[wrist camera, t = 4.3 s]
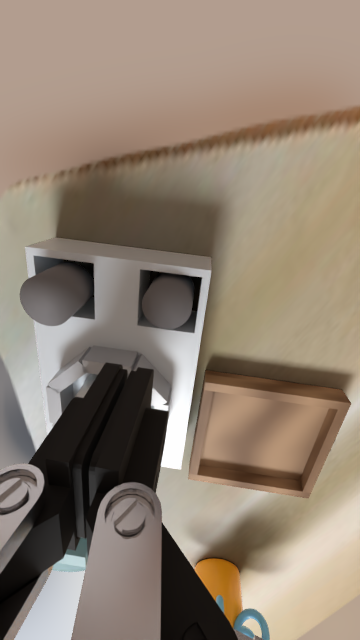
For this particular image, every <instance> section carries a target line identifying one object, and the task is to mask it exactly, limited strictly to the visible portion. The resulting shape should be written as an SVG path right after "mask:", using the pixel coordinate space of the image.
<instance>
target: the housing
mask: <svg viewBox="0 0 360 640" xmlns="http://www.w3.org/2000/svg"><path fill="white" fill-rule="evenodd" d="M25 251H26V260H27V268H28V277H29V278H31V277H33V276H35V275H37V274H39V273H41V272H43V271H45V270H47V269H49V268H51V267H53V266H55V265H57V264H60V263H62V262H63V259H65V260H73V261H80V262H88V263H94V296H95V298H94V297H91V299H90V300H89V301H88V302H87V303H86V304H85V305H84V306H82V307H81V308H80V309H79V310H78V311H77V312H76V313H75V314H74V315H73V316H71V317H70V318H69V319H68V320H67V321H66V322H65V323H63V324H61V325H58V326H46V325H43V324H40V323H38V322H36V321H35V320H34V328H35V336H36V345H37V353H38V362H39V370H40V379H41V387H42V396H43V404H44V413H45V422H46V430H47V435H48V434H49V432H50V431H51V429H52V428H53V426H54V425H55V423H56V422H57V421H58V419H59V418H60V416H61V415H62V413H63V412H64V410H65V409H66V407H67V406H68V404H69V403H70V401H71V400H72V399H73V398H74V397H75V396H76V395H77V393H78V391H79V390H80V388H81V387H82V385H83V384H84V382H85V381H86V379H87V378H88V377H89V376H90V375H91V374H96V375H98V374H99V372H100V371H101V369H102V367H103V366H104V364H105V363H106V362H108V363H114V364H121V365H122V366H123V369H126V370H127V371H128V376H129V374H130V372H131V370H133V371H136V370H137V368H138V367H141V368H148V369H154V378H153V390H152V402H151V408H152V409H158V410H165V411H169V415H168V424H167V432H166V439H165V445H164V451H163V457H162V462H161V466H162V467H168V468H175V469H181V464H182V458H183V452H184V445H185V439H186V432H187V426H188V419H189V413H190V406H191V400H192V393H193V387H194V381H195V374H196V368H197V361H198V355H199V348H200V342H201V335H202V329H203V323H204V316H205V310H206V303H207V297H208V290H209V284H210V277H211V271H212V268H211V257H206V256H198V255H190V254H182V253H175V252H167V251H159V250H151V249H143V248H135V247H127V246H119V245H111V244H103V243H96V242H88V241H80V240H72V239H64V238H56V237H55V238H52V239H49V240H45V241H42V242H39V243H35V244H32V245H29V246H25ZM151 271H158V272H165V273H173V274H181V275H188V276H196V277H202V278H201V285H200V293H199V300H198V307H197V311H191V314H190V317H189V319H188V320H187V321H186V322H185V323H184V324H183V325H181V326H180V327H178V328H174V329H162V328H159V327H157V326H155V325H153V324H152V323H150V322H149V321H148V319H147V318H146V317H145V315H144V312H143V309H142V300H143V297H144V295H145V293H146V291H147V290H148V288H149V287H150V273H151ZM128 376H127V378H128Z"/></svg>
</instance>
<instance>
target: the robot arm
mask: <svg viewBox="0 0 360 640" xmlns="http://www.w3.org/2000/svg"><path fill="white" fill-rule="evenodd" d="M127 376H128V371H127V370H126V369H123V366H122V365H121V364H114V363H108V362H106V363H105V364H104V366H103V367H102V369H101V371H100V372H99V374H98V375H97V377H96V379H95V380H94V382H93V383H92V385H91V387H90V388H89V390H88V391H87V393H86V395H85V396H84V398H82V397H74V398H73V399H72V400H71V401H70V403H69V404H68V406H67V407H66V409H65V410H64V412H63V413H62V415H61V416H60V418H59V419H58V421H57V422H56V423H55V425H54V426H53V428H52V429H51V431H50V432H49V434H48V435H47V437H46V438H45V440H44V441H43V443H42V444H41V446H40V447H39V449H38V450H37V452H36V453H35V455H34V456H33V457H32V459H31V460H30V462H29V463H28V464H15V465H11V466H8V467H5V468H2V469H1V470H0V640H14V638H15V636H16V635H17V633H18V631H19V629H20V627H21V626H22V624H23V622H24V620H25V619H26V617H27V615H28V613H29V611H30V610H31V608H32V606H33V604H34V602H35V601H36V599H37V597H38V595H39V593H40V592H41V590H42V588H43V586H44V584H45V583H46V581H47V579H48V577H49V575H50V573H51V570H52V568H53V565H54V564H56V563H57V562H59V561H60V560H61V559H63V558H64V555H65V553H66V551H67V549H68V550H74V551H76V548H77V546H78V543H79V540H80V538H85V539H86V538H87V555H88V561H87V566H86V570H85V575H84V580H83V585H82V590H81V594H80V600H79V604H78V609H77V614H76V619H75V623H74V628H73V633H72V638H71V640H263V639H262V638H260V637H258V636H256V635H255V636H254V638H253V639H252V638H250V637H249V636H247V635H245V634H243V633H241V632H239V631H237V630H235V629H233V628H232V626H231V624H230V622H229V620H228V619H227V617H226V616H225V614H224V613H223V612H222V610H221V609H220V607H219V606H218V604H217V603H216V601H215V600H214V598H213V597H212V595H211V594H210V592H209V591H208V589H207V588H206V586H205V585H204V584H203V582H202V581H201V579H200V578H199V576H198V575H197V573H196V572H195V570H194V569H193V567H192V566H191V564H190V563H189V561H188V560H187V559H186V557H185V556H184V554H183V553H182V551H181V550H180V548H179V547H178V545H177V544H176V542H175V541H174V539H173V538H172V536H171V535H170V533H169V532H168V531H167V529H166V528H165V526H164V525H163V523H162V510H161V503H160V501H159V499H158V497H157V495H156V488H157V483H158V478H159V472H160V467H161V462H162V457H163V451H164V445H165V439H166V432H167V424H168V415H169V411H165V410H158V409H152V408H151V402H152V390H153V378H154V369H148V368H141V367H138V368H137V370H136V371H133V370H131V372H130V374H129V376H128V378H127Z"/></svg>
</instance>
